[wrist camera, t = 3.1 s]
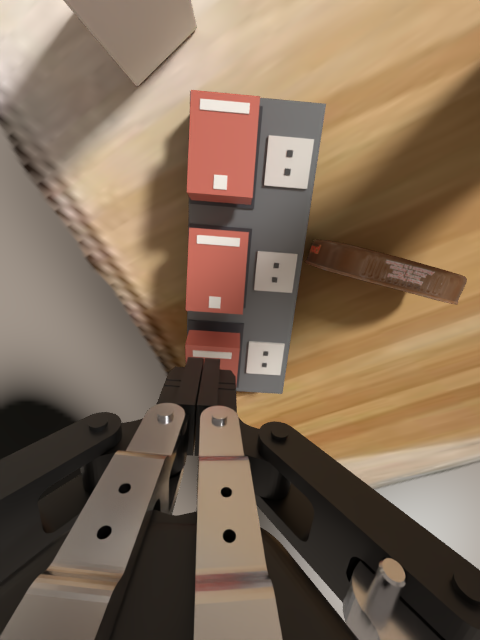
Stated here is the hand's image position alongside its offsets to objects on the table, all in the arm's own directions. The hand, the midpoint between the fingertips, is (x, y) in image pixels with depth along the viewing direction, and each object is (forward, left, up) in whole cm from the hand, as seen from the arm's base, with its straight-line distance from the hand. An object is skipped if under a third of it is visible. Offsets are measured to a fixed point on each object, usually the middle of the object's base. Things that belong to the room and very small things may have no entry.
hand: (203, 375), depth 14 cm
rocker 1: (0, -11, -15) cm, 19 cm away
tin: (-16, -3, -21) cm, 26 cm away
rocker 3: (0, +8, -15) cm, 17 cm away
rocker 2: (0, -2, -15) cm, 15 cm away
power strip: (-2, -2, -21) cm, 21 cm away
